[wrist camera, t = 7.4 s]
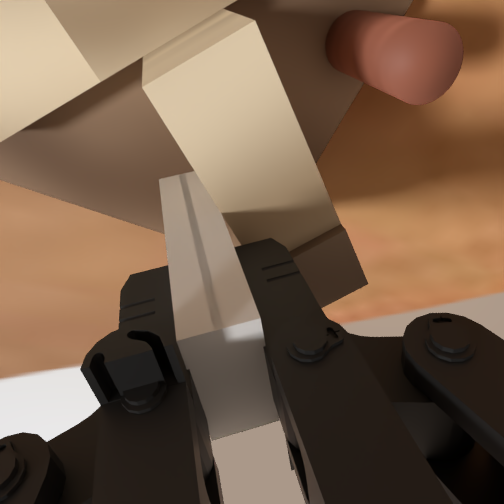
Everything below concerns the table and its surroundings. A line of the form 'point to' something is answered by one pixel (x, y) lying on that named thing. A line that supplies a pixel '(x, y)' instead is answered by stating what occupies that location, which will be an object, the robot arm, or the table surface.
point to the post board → (291, 76)
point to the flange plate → (189, 111)
